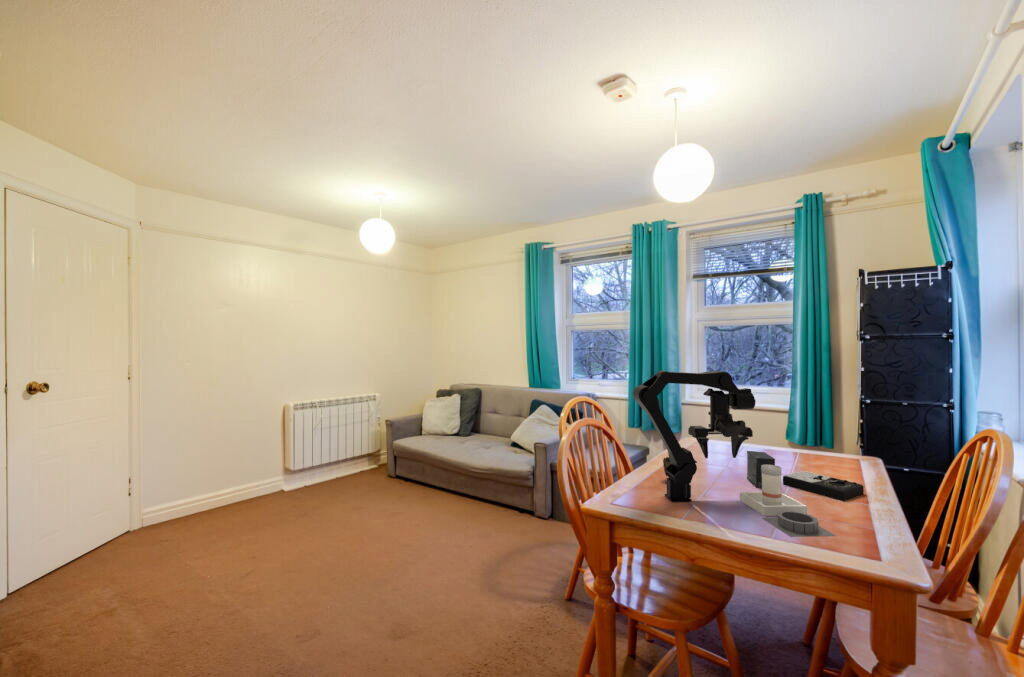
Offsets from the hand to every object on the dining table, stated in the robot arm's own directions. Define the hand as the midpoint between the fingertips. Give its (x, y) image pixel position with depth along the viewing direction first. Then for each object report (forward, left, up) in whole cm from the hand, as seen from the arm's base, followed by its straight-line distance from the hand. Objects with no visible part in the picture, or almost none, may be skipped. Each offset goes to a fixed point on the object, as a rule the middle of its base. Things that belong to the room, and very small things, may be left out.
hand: (720, 457), depth 143 cm
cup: (-8, +18, -13) cm, 24 cm away
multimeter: (+39, +7, -14) cm, 42 cm away
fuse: (+10, -11, -12) cm, 19 cm away
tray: (+10, -11, -13) cm, 20 cm away
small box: (+22, +14, -13) cm, 29 cm away
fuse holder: (+8, -25, -13) cm, 29 cm away
